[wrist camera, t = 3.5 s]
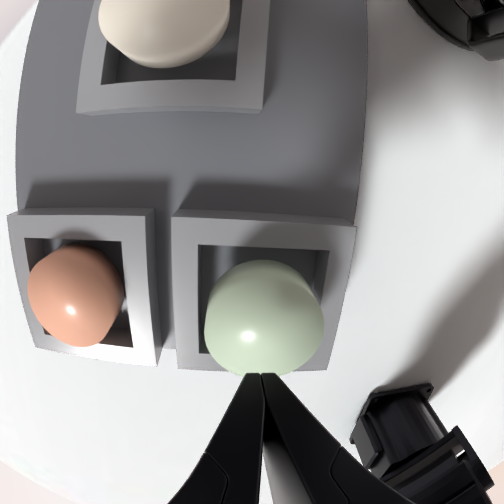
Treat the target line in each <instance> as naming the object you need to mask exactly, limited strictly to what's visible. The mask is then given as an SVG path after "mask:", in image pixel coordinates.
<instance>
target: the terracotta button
mask: <svg viewBox="0 0 504 504" xmlns="http://www.w3.org/2000/svg"><path fill="white" fill-rule="evenodd" d="M27 291H28V298H29V302H30V305H31V308H32V310H33V312H34V314H35V316H36V318H37V319H38V321H39V322H40V324H41V325H42V326H43V327H44V328H45V329H46V330H47V331H48V332H49V333H50V334H51V335H52V336H54V337H55V338H56V339H58V340H60V341H62V342H64V343H66V344H69V345H72V346H76V347H89V346H93V345H95V344H97V343H99V342H100V341H101V340H103V338H104V337H105V336H106V334H107V333H108V331H109V329H110V327H111V326H112V324H113V322H114V321H115V319H116V317H117V316H118V314H119V312H120V311H121V308H122V306H123V301H124V289H123V284H122V280H121V277H120V275H119V273H118V271H117V269H116V267H115V266H114V265H113V263H112V262H111V261H110V260H109V258H108V257H107V256H105V255H104V254H103V253H102V252H101V251H99V250H98V249H96V248H94V247H92V246H90V245H88V244H84V243H77V242H76V243H68V244H65V245H63V246H61V247H59V248H58V249H56V250H55V251H53V252H52V253H50V254H49V255H48V256H46V257H45V258H43V259H42V260H41V261H39V262H38V263H37V264H36V265H35V266H34V267H33V269H32V270H31V272H30V275H29V278H28V285H27Z"/></svg>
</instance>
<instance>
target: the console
mask: <svg viewBox="0 0 504 504" xmlns="http://www.w3.org/2000/svg"><path fill="white" fill-rule="evenodd" d="M101 1H102V0H39V3H38V6H37V9H36V13H35V16H34V20H33V24H32V27H31V31H30V36H29V40H28V44H27V49H26V54H25V59H24V65H23V71H22V77H21V84H20V92H19V101H18V112H17V126H16V191H17V206H18V211H16V212H14V213H12V214H9V215H7V222H8V231H9V238H10V245H11V251H12V257H13V263H14V268H15V273H16V278H17V282H18V287H19V291H20V295H21V299H22V303H23V307H24V311H25V315H26V318H27V322H28V325H29V328H30V332H31V335H32V338H33V341H34V344H35V347H37V348H42V349H46V350H51V351H56V352H61V353H66V354H71V355H76V356H82V357H87V358H93V359H100V360H106V361H113V362H120V363H128V364H136V365H145V366H154V367H157V365H158V361H159V358H160V355H161V351H162V348H168V349H176V352H177V364H178V369H190V370H207V371H228V370H226V369H225V368H223V367H222V366H221V365H220V364H218V363H217V362H216V361H215V359H214V358H213V357H212V355H211V354H210V352H209V350H208V348H207V346H206V342H205V336H204V329H205V320H206V312H207V305H208V299H209V295H210V292H211V290H212V288H213V286H214V285H215V283H216V282H217V280H218V279H219V278H220V277H221V276H222V275H223V274H224V273H225V272H227V271H228V270H229V269H231V268H233V267H235V266H236V265H239V264H241V263H244V262H248V261H252V260H274V261H278V262H281V263H284V264H287V265H288V266H290V267H292V268H294V269H295V270H296V271H298V272H299V273H300V274H301V275H302V276H303V278H304V279H305V280H306V282H307V283H308V285H309V287H310V289H311V291H312V293H313V295H314V297H315V298H316V300H317V302H318V304H319V306H320V308H321V310H322V313H323V317H324V334H323V338H322V341H321V343H320V345H319V347H318V349H317V350H316V352H315V353H314V355H313V356H312V357H311V358H310V359H309V360H308V361H307V362H306V363H304V364H303V365H302V366H301V367H299V368H297V369H296V370H294V371H316V370H327V367H328V363H329V359H330V356H331V352H332V348H333V344H334V340H335V336H336V332H337V328H338V323H339V319H340V315H341V310H342V306H343V301H344V296H345V292H346V287H347V282H348V277H349V271H350V266H351V261H352V255H353V249H354V244H355V238H356V231H357V227H356V226H355V225H354V219H355V212H356V205H357V197H358V189H359V181H360V172H361V162H362V152H363V141H364V128H365V113H366V93H367V5H366V0H230V18H229V23H228V26H227V29H226V31H225V33H224V35H223V37H222V38H221V39H220V41H219V42H218V43H217V44H216V45H215V46H214V48H212V49H211V50H210V51H209V52H208V53H206V54H205V55H203V56H202V57H200V58H198V59H196V60H195V61H192V62H190V63H188V64H185V65H181V66H178V67H173V68H150V67H146V66H142V65H140V64H137V63H135V62H134V61H132V60H131V59H129V58H128V57H127V56H126V55H125V54H123V53H122V52H121V51H120V50H118V49H117V48H116V47H115V46H113V45H112V44H111V43H110V42H108V40H107V39H106V38H105V37H104V35H103V33H102V32H101V29H100V26H99V20H98V13H99V7H100V4H101ZM76 242H77V243H84V244H88V245H90V246H92V247H94V248H96V249H98V250H99V251H101V252H102V253H103V254H104V255H105V256H107V257H108V258H109V260H110V261H111V262H112V263H113V265H114V266H115V267H116V269H117V271H118V273H119V275H120V277H121V280H122V284H123V289H124V301H123V306H122V308H121V311H120V312H119V314H118V316H117V317H116V319H115V321H114V322H113V324H112V326H111V327H110V329H109V331H108V333H107V334H106V336H105V337H104V338H103V340H101V341H100V342H99V343H97V344H95V345H93V346H89V347H76V346H72V345H69V344H66V343H64V342H62V341H60V340H58V339H56V338H55V337H54V336H52V335H51V334H50V333H49V332H48V331H47V330H46V329H45V328H44V327H43V326H42V325H41V324H40V322H39V321H38V319H37V318H36V316H35V314H34V312H33V310H32V308H31V305H30V302H29V298H28V291H27V285H28V278H29V275H30V272H31V270H32V269H33V267H34V266H35V265H36V264H37V263H38V262H39V261H41V260H42V259H43V258H45V257H46V256H48V255H49V254H50V253H52V252H53V251H55V250H56V249H58V248H59V247H61V246H63V245H65V244H68V243H76Z"/></svg>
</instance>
